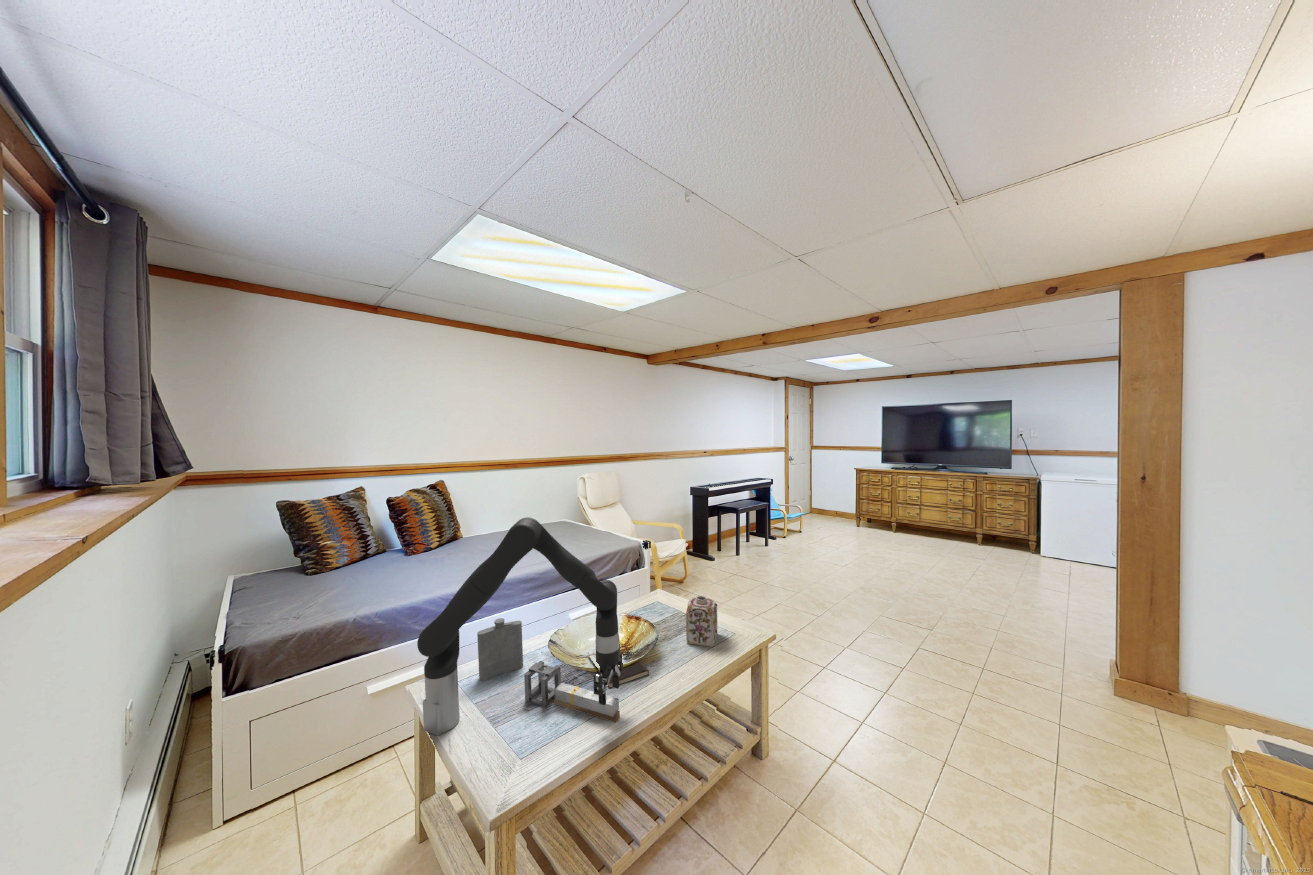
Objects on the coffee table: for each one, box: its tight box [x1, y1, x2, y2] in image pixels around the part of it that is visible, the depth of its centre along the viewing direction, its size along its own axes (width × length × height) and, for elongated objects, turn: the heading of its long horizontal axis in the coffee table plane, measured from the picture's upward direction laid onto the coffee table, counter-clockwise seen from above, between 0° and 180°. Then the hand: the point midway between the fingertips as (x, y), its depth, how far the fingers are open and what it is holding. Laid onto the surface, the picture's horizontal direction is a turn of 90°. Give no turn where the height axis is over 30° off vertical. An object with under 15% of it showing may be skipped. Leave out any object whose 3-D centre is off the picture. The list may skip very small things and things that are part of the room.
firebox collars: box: [523, 660, 562, 709], centre depth 144 cm, size 8×9×10 cm
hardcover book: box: [604, 662, 650, 688], centre depth 162 cm, size 16×23×2 cm
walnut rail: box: [553, 696, 621, 723], centre depth 137 cm, size 3×24×2 cm, turn 67°
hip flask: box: [476, 617, 524, 682], centre depth 159 cm, size 16×4×20 cm, turn 122°
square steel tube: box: [554, 682, 620, 717], centre depth 137 cm, size 22×4×4 cm, turn 67°
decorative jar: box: [685, 595, 718, 648], centre depth 179 cm, size 12×12×18 cm
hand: (609, 695), depth 133 cm, fingers open, 8 cm apart
